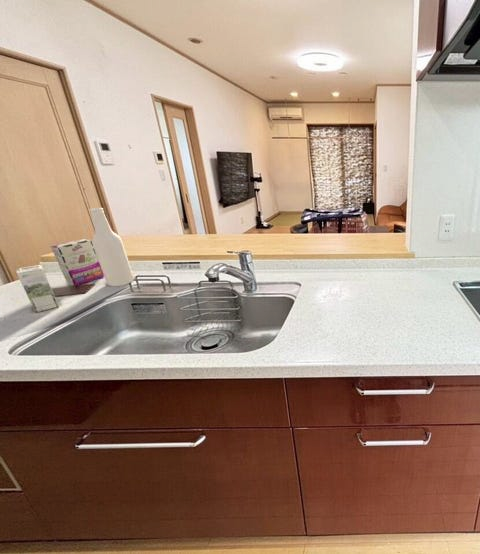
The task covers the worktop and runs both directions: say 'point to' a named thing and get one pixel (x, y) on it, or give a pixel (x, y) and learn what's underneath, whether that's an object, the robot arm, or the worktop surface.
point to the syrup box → (37, 288)
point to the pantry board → (72, 290)
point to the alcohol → (110, 251)
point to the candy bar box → (78, 261)
